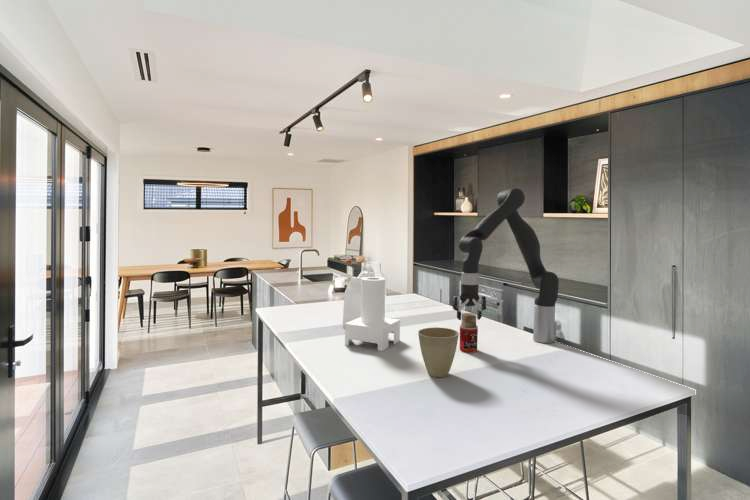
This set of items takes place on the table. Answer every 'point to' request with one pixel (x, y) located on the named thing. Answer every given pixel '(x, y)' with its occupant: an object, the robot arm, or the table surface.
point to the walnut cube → (468, 320)
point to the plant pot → (438, 349)
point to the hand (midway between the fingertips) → (469, 319)
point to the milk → (352, 300)
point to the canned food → (468, 339)
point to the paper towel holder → (372, 316)
